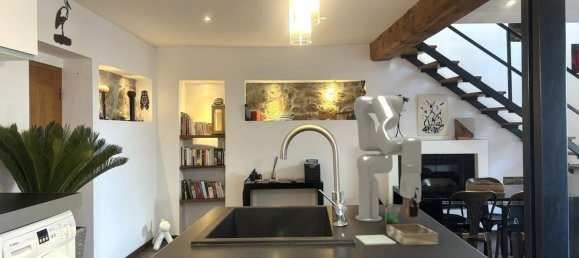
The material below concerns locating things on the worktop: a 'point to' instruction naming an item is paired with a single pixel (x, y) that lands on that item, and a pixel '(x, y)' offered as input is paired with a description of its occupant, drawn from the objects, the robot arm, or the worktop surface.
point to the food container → (391, 214)
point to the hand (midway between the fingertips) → (410, 214)
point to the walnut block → (408, 209)
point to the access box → (412, 234)
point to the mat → (375, 239)
